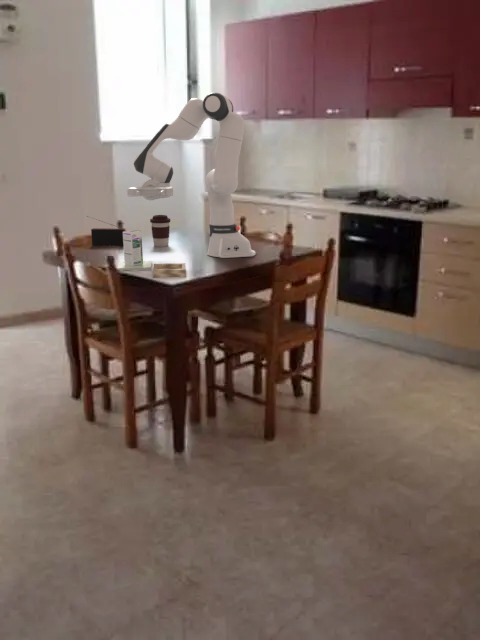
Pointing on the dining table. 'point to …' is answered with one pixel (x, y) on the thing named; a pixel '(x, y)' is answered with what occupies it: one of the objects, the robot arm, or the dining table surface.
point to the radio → (107, 236)
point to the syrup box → (132, 247)
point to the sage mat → (144, 266)
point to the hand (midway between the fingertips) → (149, 193)
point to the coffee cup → (160, 230)
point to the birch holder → (169, 270)
